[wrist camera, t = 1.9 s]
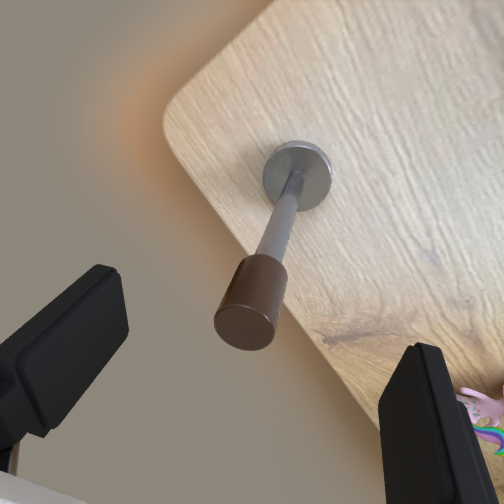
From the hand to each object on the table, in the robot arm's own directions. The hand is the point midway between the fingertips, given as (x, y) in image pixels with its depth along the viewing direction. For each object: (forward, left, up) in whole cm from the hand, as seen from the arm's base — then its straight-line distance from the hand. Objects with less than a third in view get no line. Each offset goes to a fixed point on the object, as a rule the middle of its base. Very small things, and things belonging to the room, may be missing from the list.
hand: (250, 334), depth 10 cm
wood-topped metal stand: (0, 0, -15) cm, 15 cm away
